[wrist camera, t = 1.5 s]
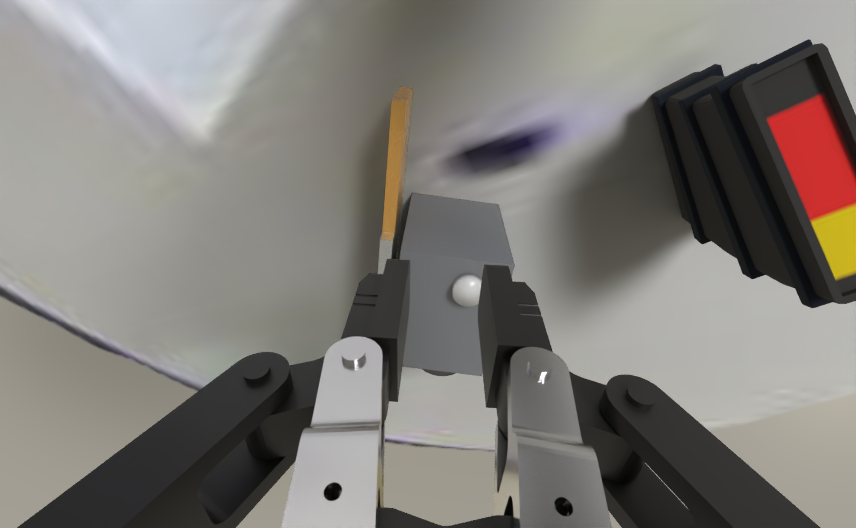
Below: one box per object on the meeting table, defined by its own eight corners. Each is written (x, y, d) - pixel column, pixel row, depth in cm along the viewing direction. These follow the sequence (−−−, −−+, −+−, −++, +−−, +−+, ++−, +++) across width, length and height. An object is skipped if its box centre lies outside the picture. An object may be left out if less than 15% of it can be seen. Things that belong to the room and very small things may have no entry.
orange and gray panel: (395, 299, 36) (383, 364, 30) (382, 298, 36) (368, 362, 30) (417, 84, 26) (407, 109, 20) (400, 82, 26) (384, 105, 20)
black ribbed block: (695, 261, 31) (830, 316, 17) (628, 111, 31) (710, 39, 17) (747, 242, 30) (937, 283, 16) (678, 86, 30) (813, -15, 15)
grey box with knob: (412, 192, 31) (399, 257, 23) (498, 204, 31) (516, 272, 23) (399, 310, 38) (385, 393, 30) (470, 319, 38) (476, 404, 30)
